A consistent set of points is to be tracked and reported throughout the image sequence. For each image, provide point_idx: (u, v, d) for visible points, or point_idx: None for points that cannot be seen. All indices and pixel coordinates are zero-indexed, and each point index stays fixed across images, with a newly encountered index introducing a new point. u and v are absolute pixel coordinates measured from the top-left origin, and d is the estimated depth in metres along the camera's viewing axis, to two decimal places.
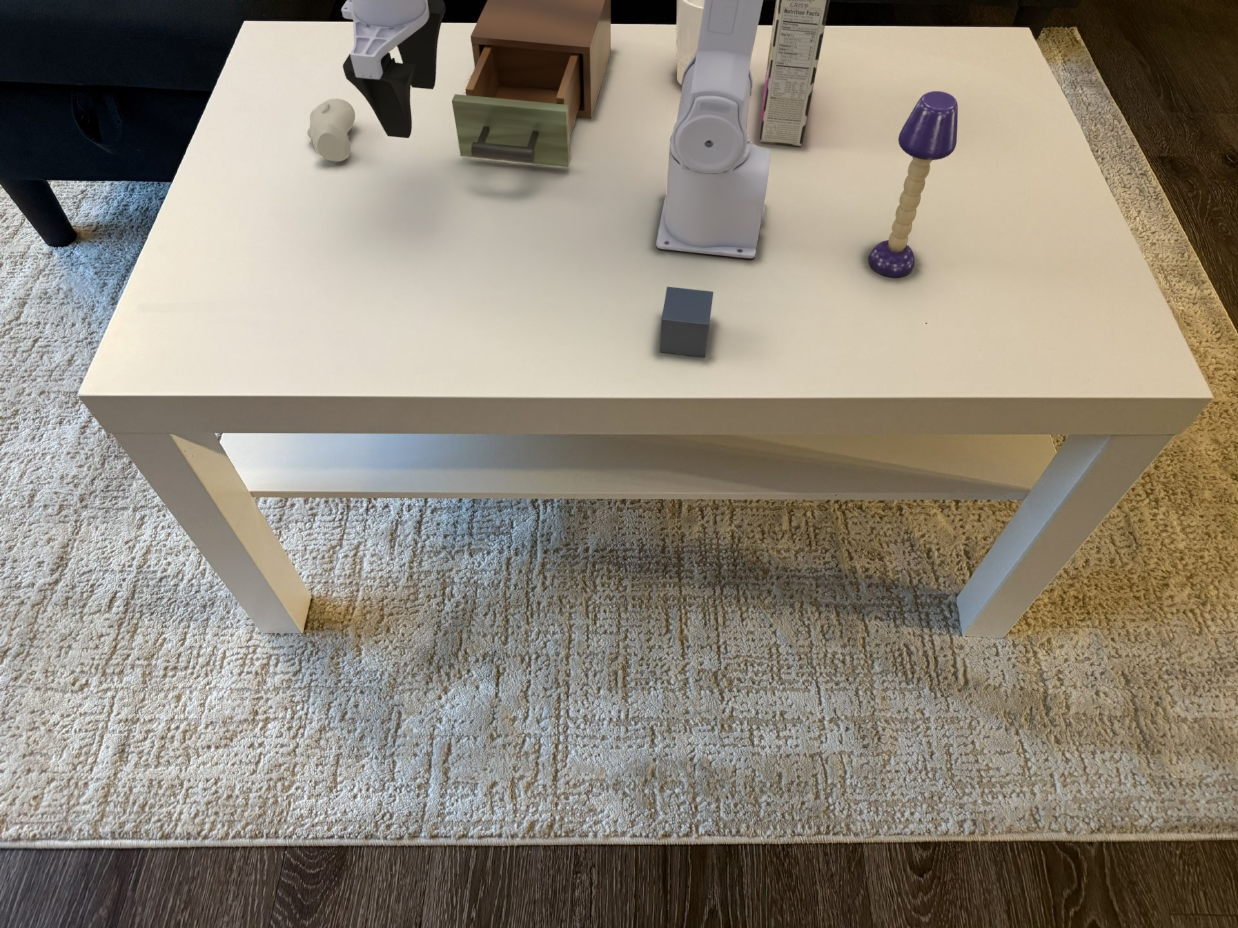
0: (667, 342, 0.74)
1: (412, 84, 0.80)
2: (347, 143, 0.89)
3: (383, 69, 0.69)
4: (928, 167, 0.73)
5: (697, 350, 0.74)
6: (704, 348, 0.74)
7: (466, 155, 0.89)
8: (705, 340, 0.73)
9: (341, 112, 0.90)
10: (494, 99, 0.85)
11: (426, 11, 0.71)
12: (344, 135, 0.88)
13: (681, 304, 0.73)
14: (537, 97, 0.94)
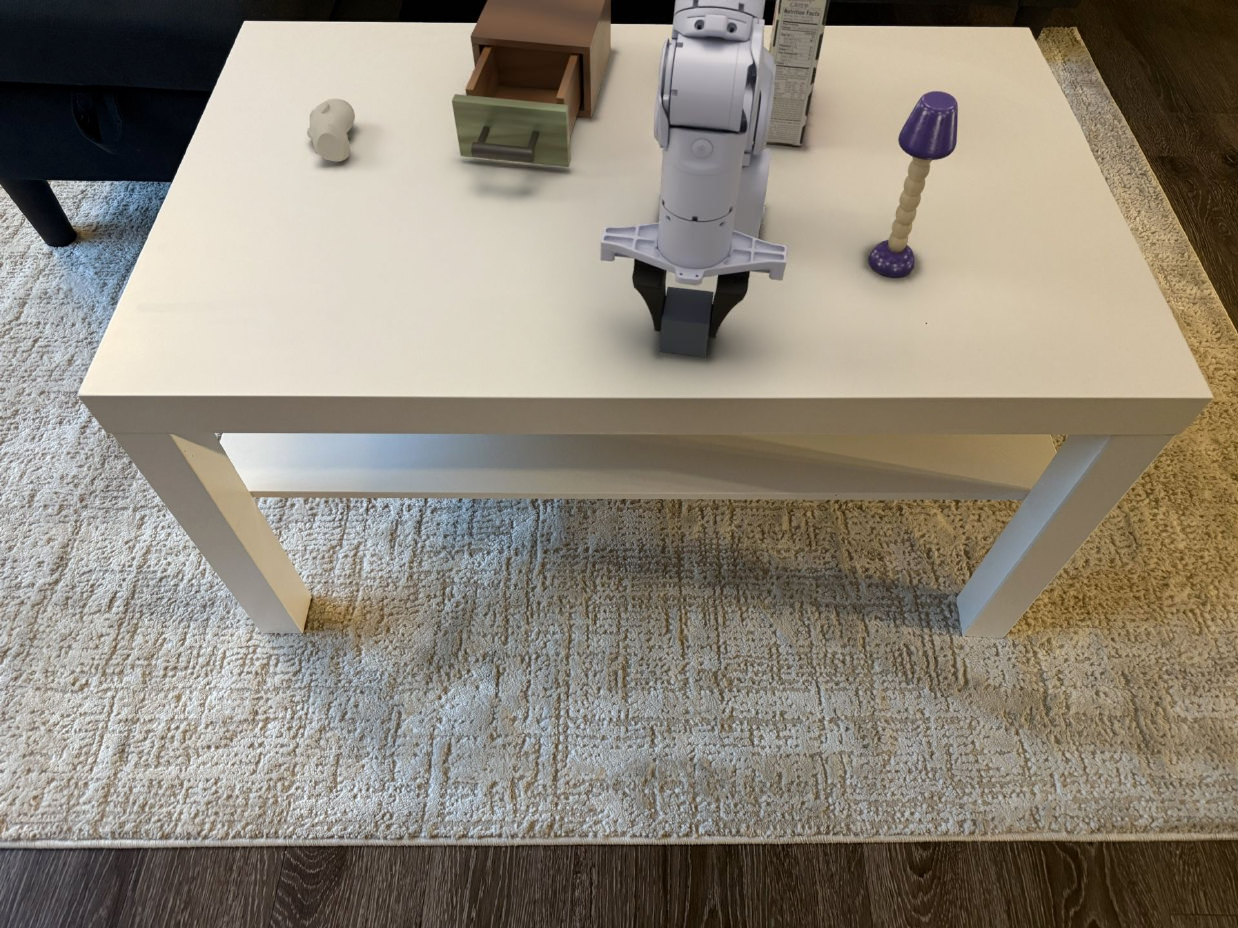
0: (667, 342, 0.74)
1: None
2: (346, 143, 0.89)
3: None
4: (928, 167, 0.73)
5: (697, 350, 0.74)
6: (704, 348, 0.74)
7: (466, 155, 0.89)
8: (705, 340, 0.73)
9: (341, 112, 0.90)
10: (494, 99, 0.85)
11: None
12: (344, 135, 0.88)
13: (682, 304, 0.73)
14: (537, 97, 0.94)
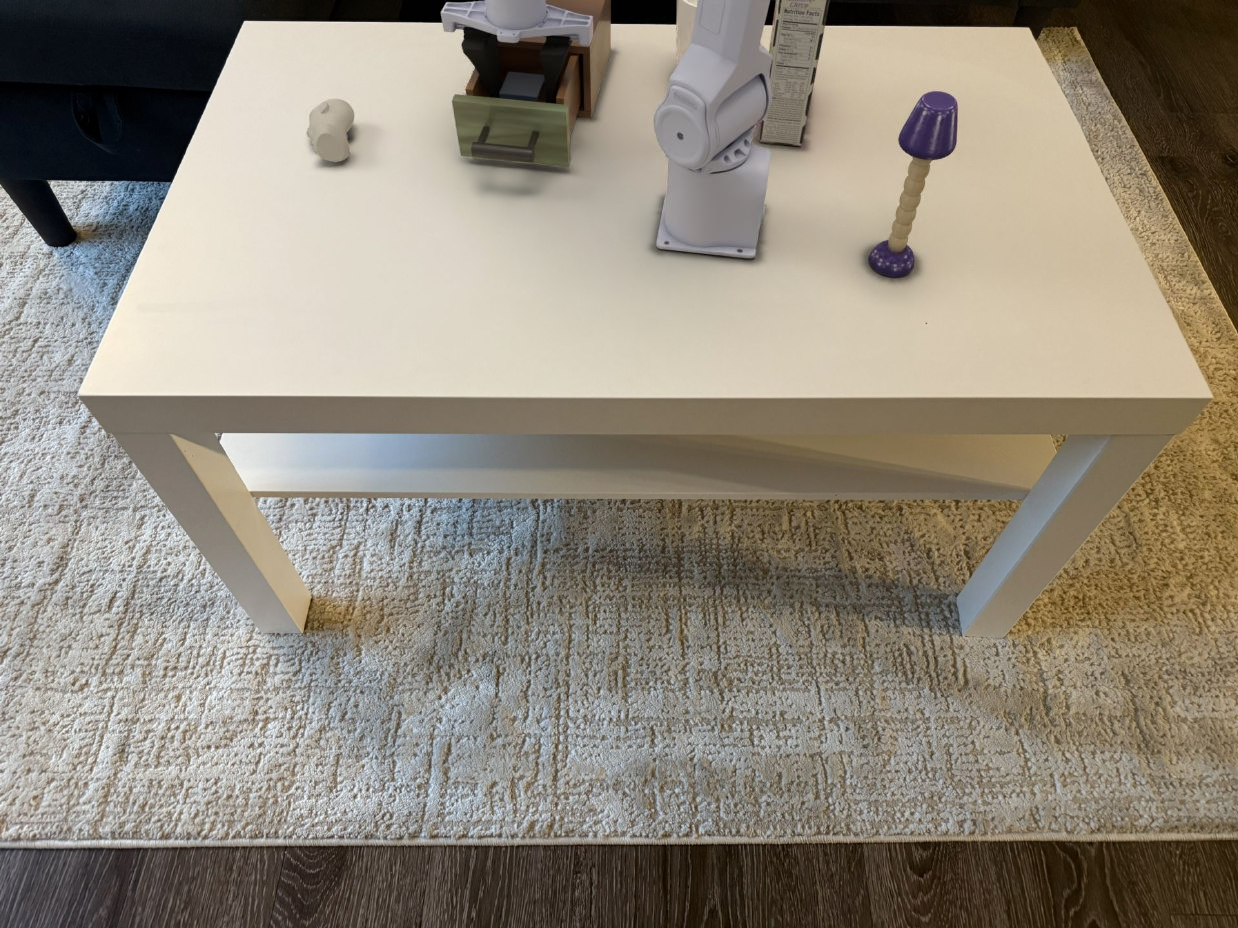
0: None
1: None
2: (346, 144, 0.89)
3: None
4: (928, 167, 0.73)
5: None
6: None
7: (466, 155, 0.89)
8: None
9: (341, 112, 0.90)
10: (494, 99, 0.85)
11: None
12: (343, 135, 0.88)
13: (518, 83, 0.88)
14: None
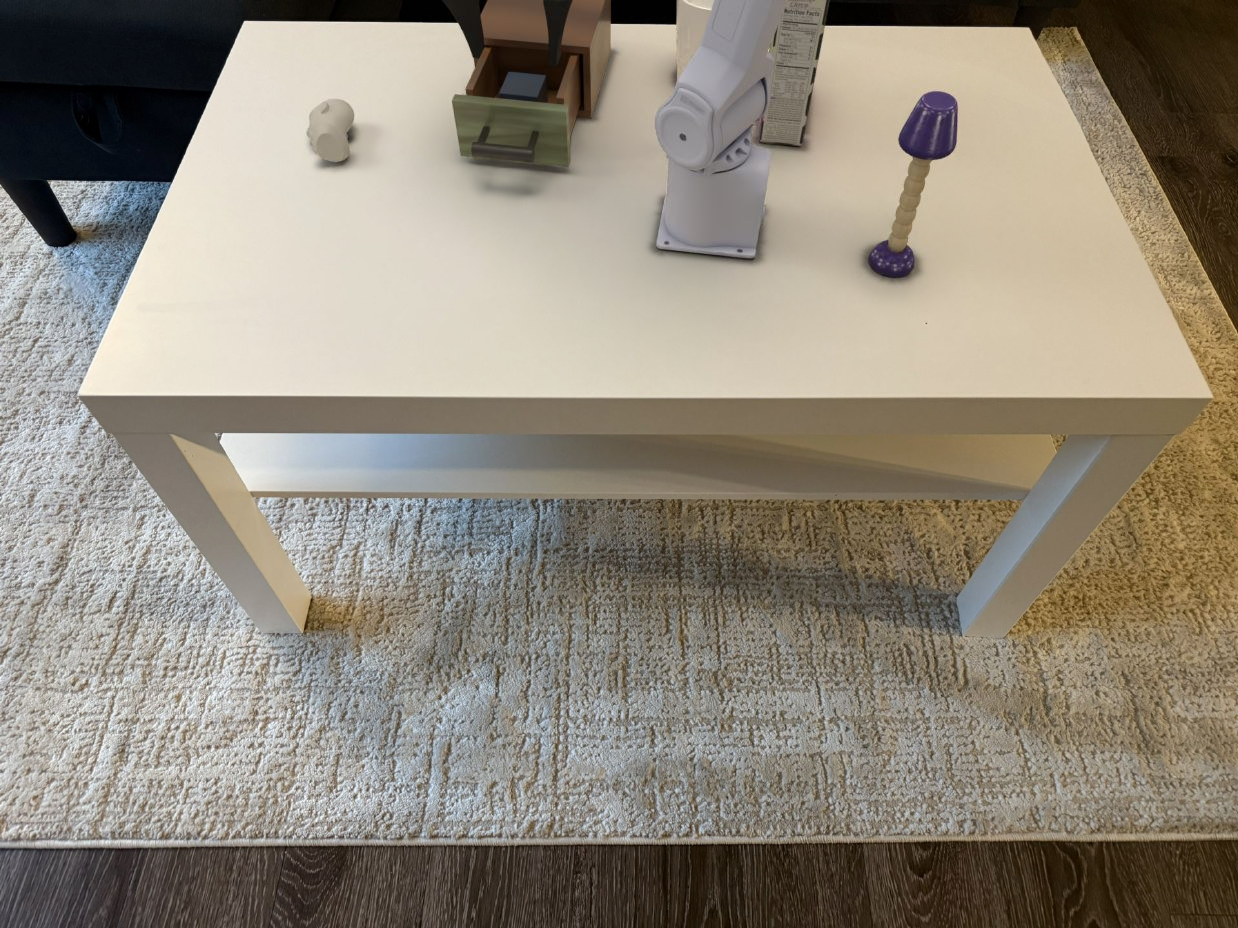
0: None
1: (478, 55, 0.84)
2: (346, 144, 0.89)
3: None
4: (928, 167, 0.73)
5: None
6: None
7: (466, 155, 0.89)
8: None
9: (341, 112, 0.90)
10: (494, 99, 0.85)
11: None
12: (343, 135, 0.88)
13: (518, 83, 0.88)
14: None
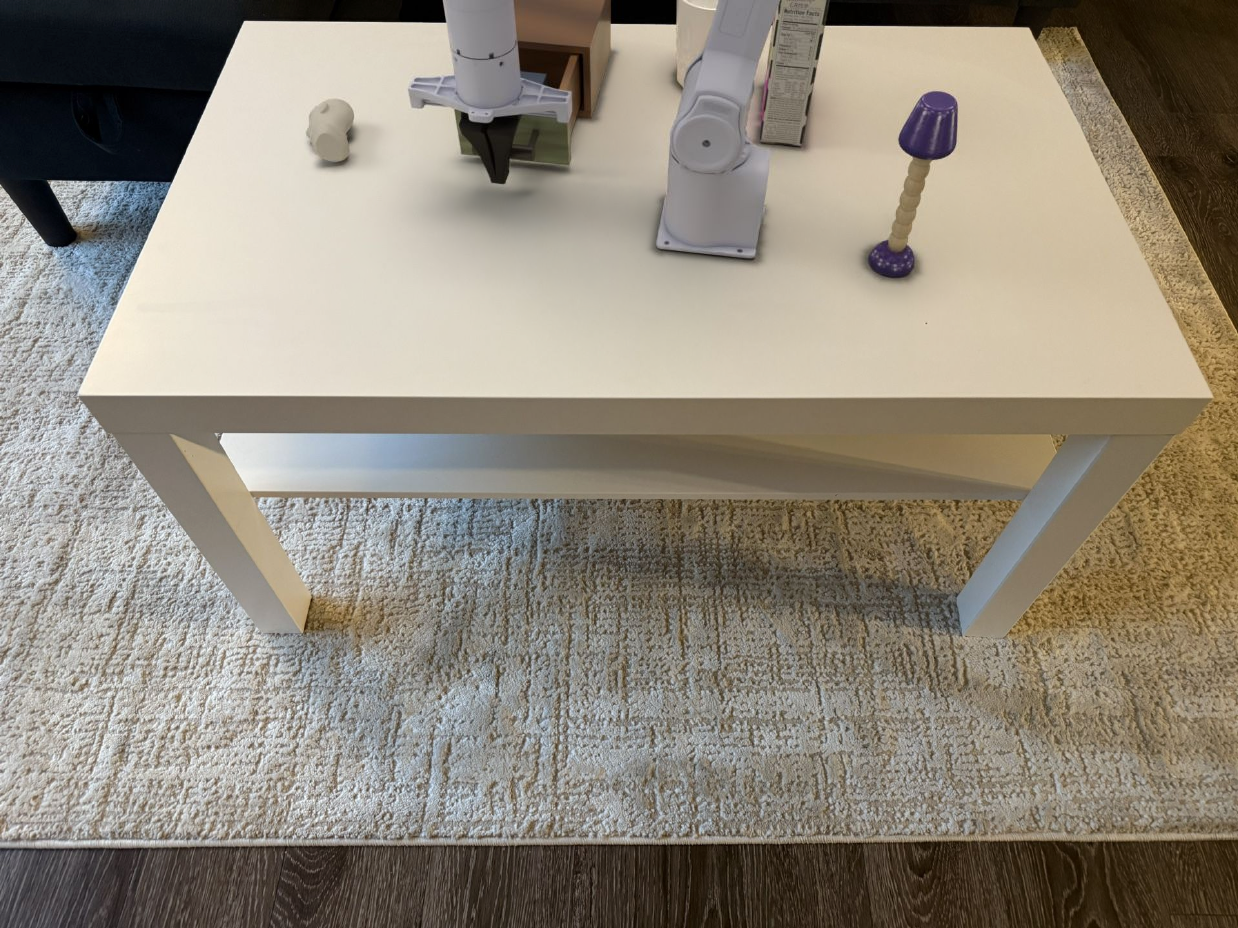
0: None
1: (497, 180, 0.84)
2: (345, 144, 0.89)
3: None
4: (928, 167, 0.73)
5: None
6: None
7: (467, 153, 0.90)
8: None
9: (340, 112, 0.90)
10: None
11: None
12: (343, 135, 0.88)
13: None
14: None
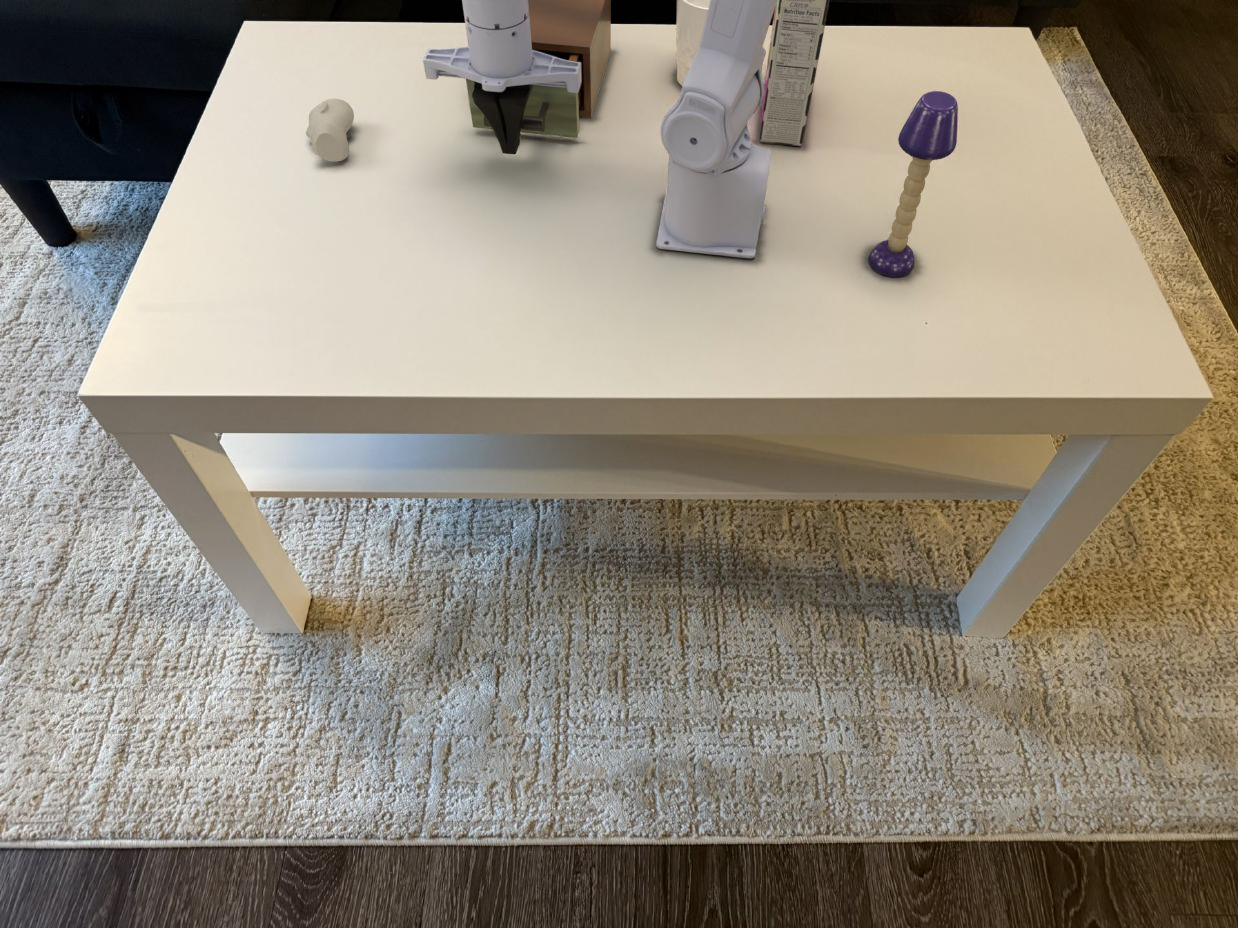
0: None
1: None
2: (345, 143, 0.89)
3: None
4: (928, 167, 0.73)
5: None
6: None
7: (478, 126, 0.92)
8: None
9: (340, 112, 0.90)
10: None
11: None
12: (343, 135, 0.88)
13: None
14: None
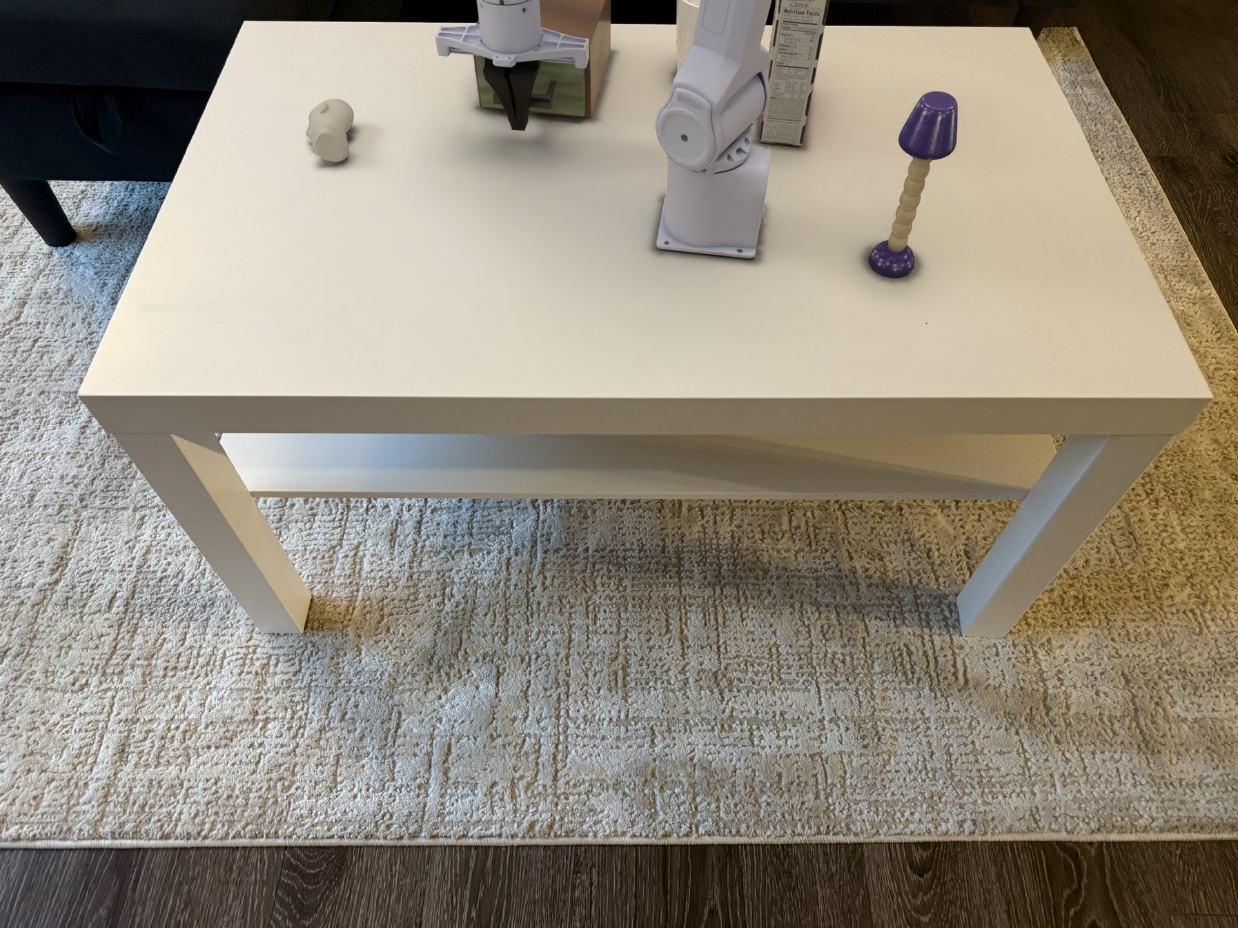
0: None
1: (517, 127, 0.89)
2: (345, 144, 0.89)
3: None
4: (928, 167, 0.73)
5: None
6: None
7: (487, 105, 0.95)
8: None
9: (340, 112, 0.90)
10: None
11: None
12: (342, 135, 0.88)
13: None
14: None
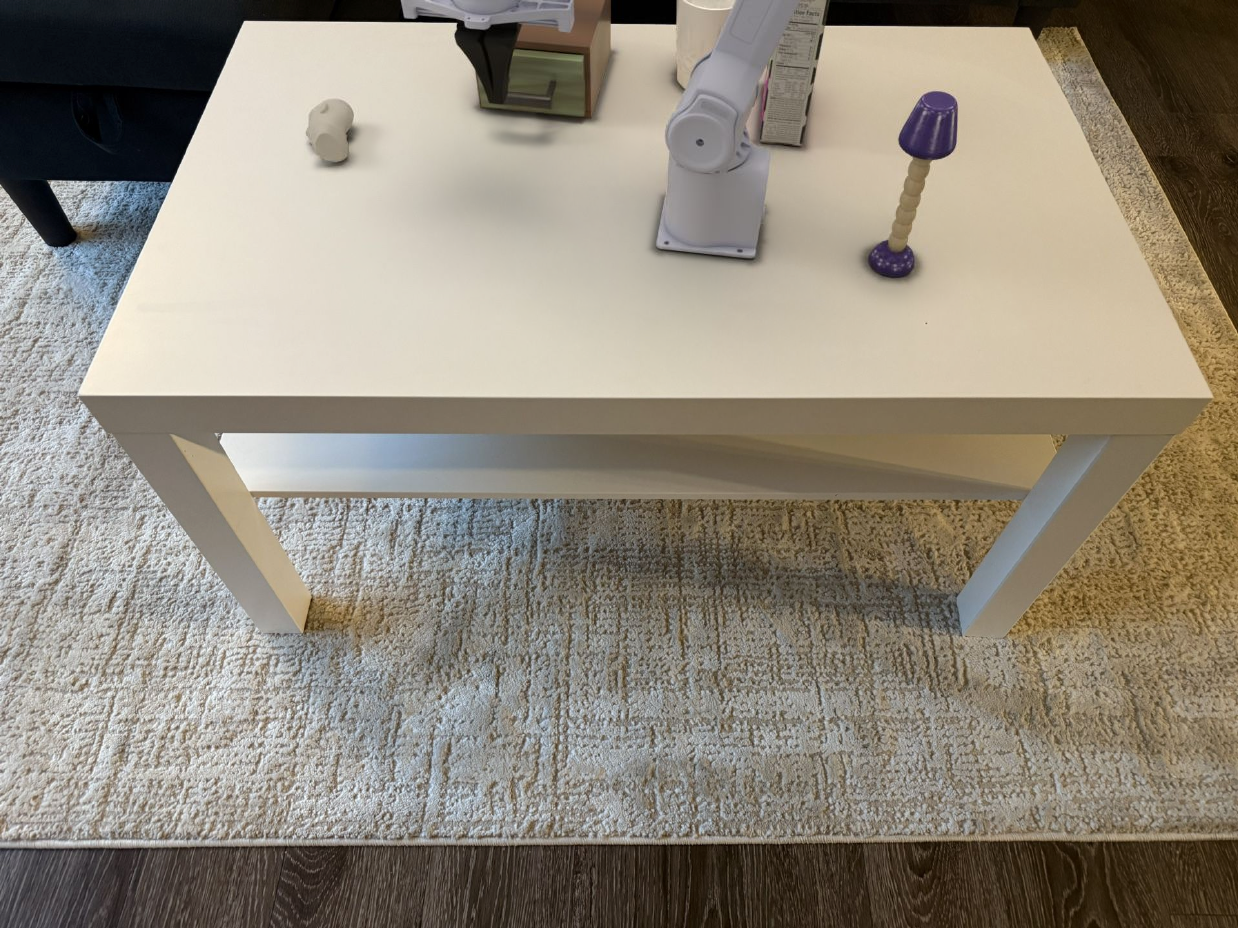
0: None
1: None
2: (345, 144, 0.89)
3: None
4: (928, 167, 0.73)
5: None
6: None
7: (487, 105, 0.95)
8: None
9: (340, 112, 0.90)
10: (514, 50, 0.90)
11: None
12: (342, 135, 0.88)
13: None
14: None
